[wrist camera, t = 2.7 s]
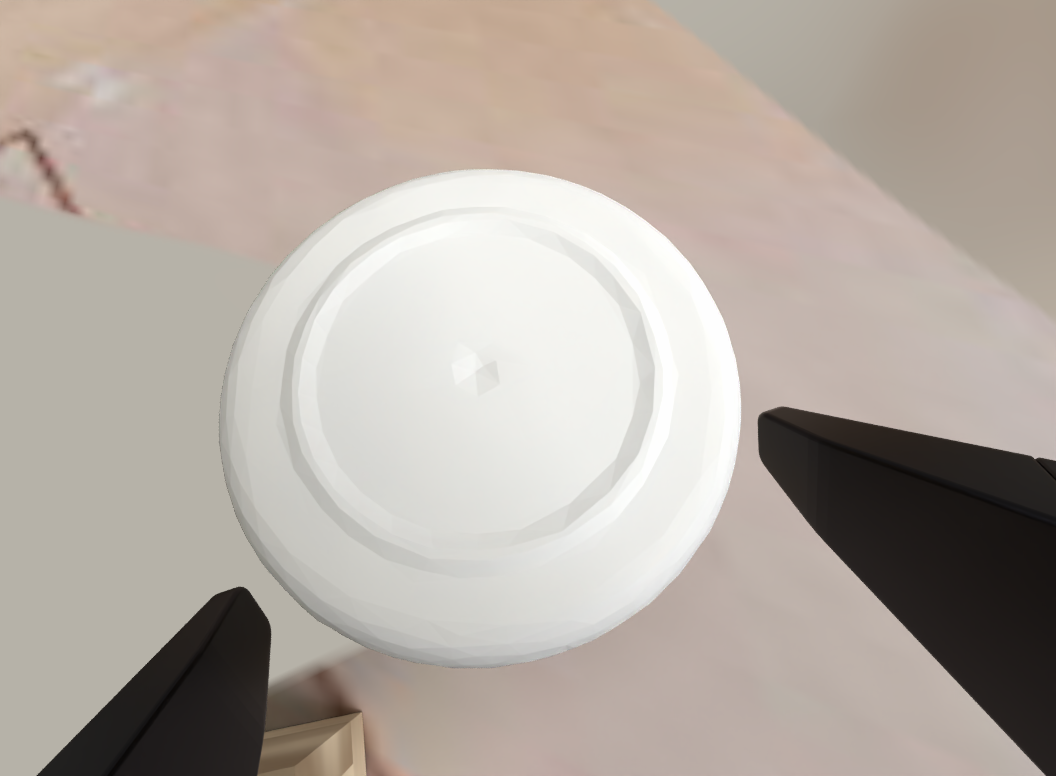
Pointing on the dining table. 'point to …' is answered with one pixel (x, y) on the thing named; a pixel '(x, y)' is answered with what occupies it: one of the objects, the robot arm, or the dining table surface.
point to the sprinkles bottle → (480, 418)
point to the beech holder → (316, 749)
